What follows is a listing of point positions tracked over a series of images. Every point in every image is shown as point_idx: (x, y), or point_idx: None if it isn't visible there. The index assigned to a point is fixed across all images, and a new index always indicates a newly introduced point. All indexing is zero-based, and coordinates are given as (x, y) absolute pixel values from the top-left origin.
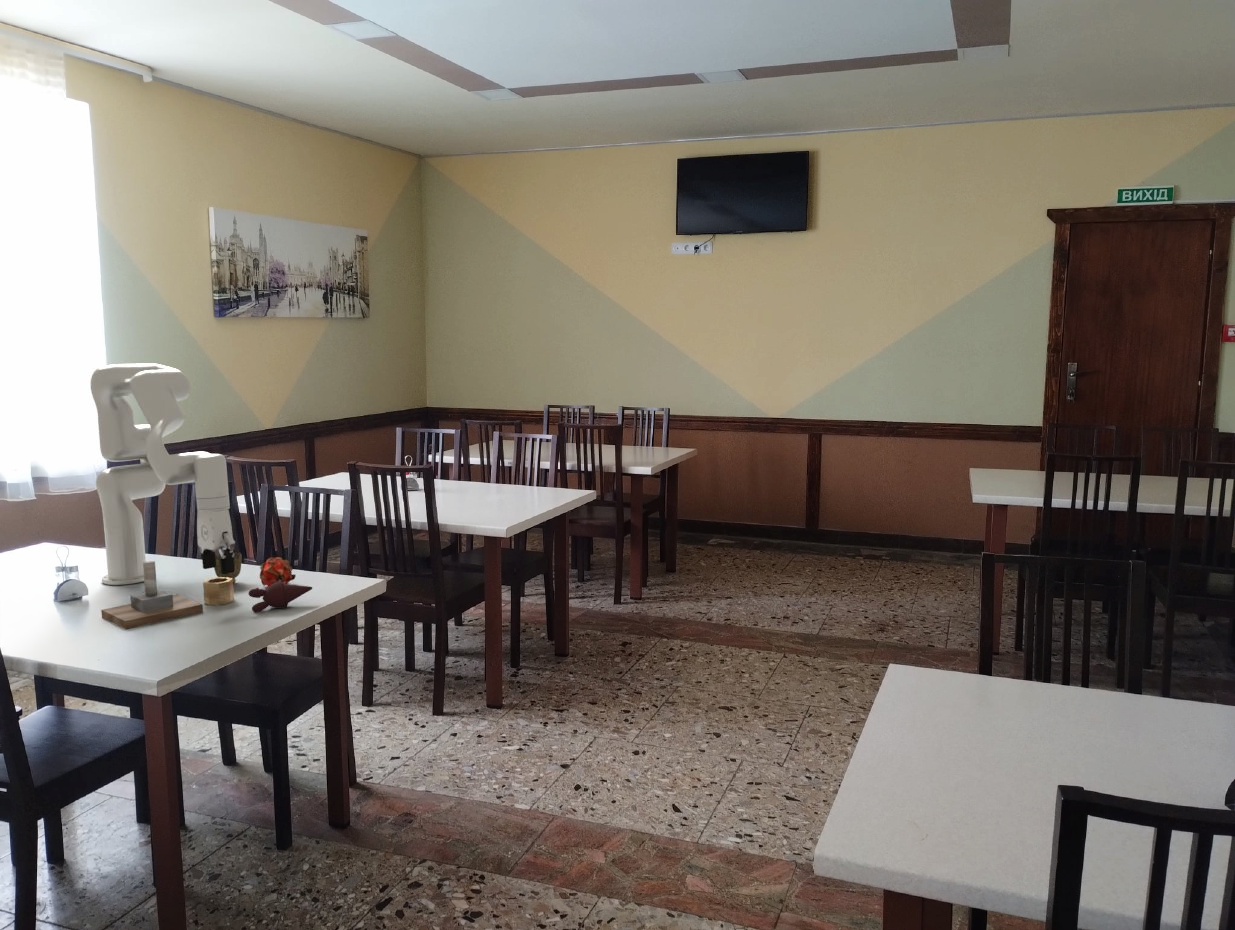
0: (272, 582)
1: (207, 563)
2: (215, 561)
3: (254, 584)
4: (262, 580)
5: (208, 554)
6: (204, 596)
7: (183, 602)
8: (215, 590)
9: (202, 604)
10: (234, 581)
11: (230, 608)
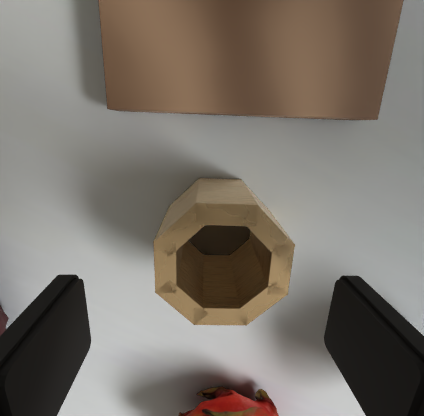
0: (196, 409)
1: (351, 319)
2: (342, 372)
3: (316, 383)
4: (269, 405)
5: (401, 401)
6: (241, 185)
7: (208, 60)
8: (172, 215)
9: (108, 108)
10: None
11: (94, 206)
